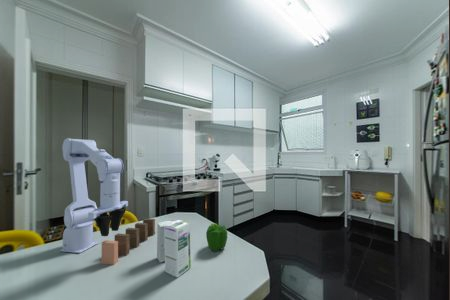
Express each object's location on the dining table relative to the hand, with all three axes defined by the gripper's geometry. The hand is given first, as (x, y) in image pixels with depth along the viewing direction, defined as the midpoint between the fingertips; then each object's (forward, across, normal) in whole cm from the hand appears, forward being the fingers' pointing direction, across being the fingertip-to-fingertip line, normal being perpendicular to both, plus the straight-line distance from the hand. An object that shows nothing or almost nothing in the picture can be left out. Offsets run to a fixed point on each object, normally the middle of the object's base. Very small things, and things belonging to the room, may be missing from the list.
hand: (110, 233), depth 61 cm
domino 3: (+10, +11, 0) cm, 15 cm away
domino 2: (+10, +6, 0) cm, 11 cm away
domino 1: (+10, 0, 0) cm, 10 cm away
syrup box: (+10, 0, -25) cm, 27 cm away
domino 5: (+10, +22, 0) cm, 24 cm away
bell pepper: (+10, +15, -34) cm, 39 cm away
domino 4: (+10, +16, 0) cm, 19 cm away
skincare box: (+10, +6, -18) cm, 21 cm away
